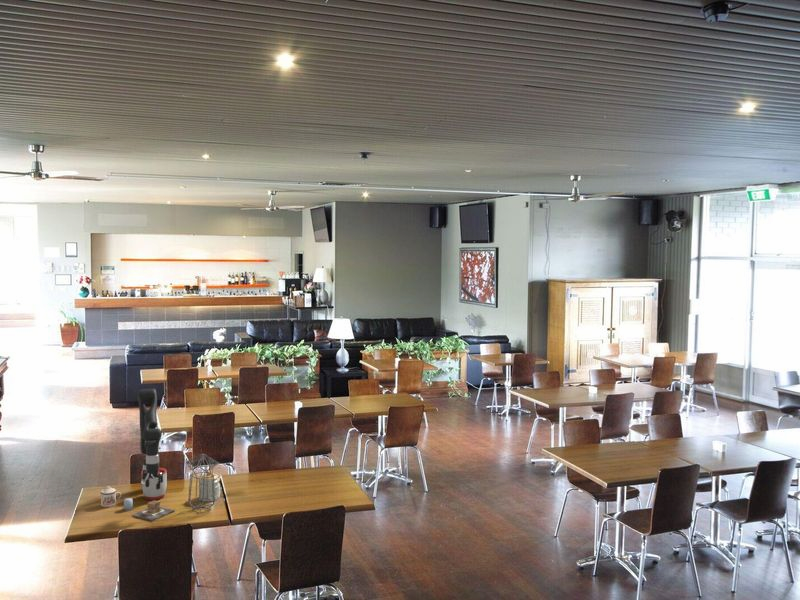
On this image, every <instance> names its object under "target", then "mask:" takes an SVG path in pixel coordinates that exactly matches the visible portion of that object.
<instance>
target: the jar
mask: <svg viewBox="0 0 800 600" xmlns="http://www.w3.org/2000/svg"><path fill="white" fill-rule="evenodd" d="M210 471H211V470H209V471H208V473H205V477H208V478H204V473H203V474H202V475H199V477H200V478H203V479H200V499H201V498H207V483H208V499H210V500H212V501H213V496H214V494H215V501H217V500H218V499H220V494H221V493H220V486H221V485H220V478H219V475H218V474H216V473H214V472H213V475H214V491H213V495H212V478H213V477H210V476H212V475H211V473H212V472H211V473H210ZM209 473H210V474H209ZM203 481H204V496H203ZM206 500H207V499H203V502H205V501H206ZM210 500H207V501H206V502H212V501H210ZM200 502H202V499H201V500H200Z"/></svg>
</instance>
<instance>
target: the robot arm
mask: <svg viewBox="0 0 800 600" xmlns="http://www.w3.org/2000/svg"><path fill="white" fill-rule="evenodd" d="M137 393H138V394H137V399H138V408H139V409H138V410H139V431H140V439H139V440H140V443H139V444H140V445H139V446H140V448H139V449H140V453H141V454H142V455H145V458H144V459H142V471H143V478H142V477H141V480H142V479H143V480H145V485H146V487H149V479H150V478H152V479H154V481H156V483H157V484H156V489H157V490H158V489H160V483H161V482H163V473H162V472H161V473H159V472H158V469H159V468H160V454H159V453H160V451H159V446H160V443H161V438H162V434H163V432H162V430H161V429H160V428H159V427H158V419H157V411H158V410H157V409H158V395H157V390H156V388H145V389H143V388H142V389H139V390H138V392H137ZM147 404H148V405H149V404H151V405H150V407H149V408H147V406H146V405H147ZM157 427H158V428H157ZM156 477H157V478H156ZM160 479H161V480H160ZM157 480H158V481H157Z"/></svg>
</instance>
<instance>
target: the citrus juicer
mask: <svg viewBox="0 0 800 600" xmlns="http://www.w3.org/2000/svg"><path fill="white" fill-rule="evenodd" d="M158 472H159V473H161V472H162V473H163V482H161V483H160V489H158V490H157V489H156V484H157V483H156V481H154V479H152V478H150V479H149V487H146V485H145V480H143V479H142V478H143V470H141V481H140V483H141V489H142V493H143V497H144V499H145V500H150V501H153V500H154V501H157V500H160V499H162V498H164V497H165V495H166V491H167V486H168V485H167V484H168V479H167V477H168V475H167V474H168V473H167V472H168V470H167V468H165V467H159V469H158ZM156 478H157V477H156ZM160 480H161V479H160ZM157 481H158V480H157Z"/></svg>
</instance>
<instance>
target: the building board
mask: <svg viewBox="0 0 800 600" xmlns="http://www.w3.org/2000/svg"><path fill="white" fill-rule="evenodd" d="M175 512H176V510H175V509H171V508H168V507H165V506H160V512H157V513H155V514H151V513H148V510H147V508H145V509H142V510H140V511H137V512H135V513H133V514H132V515H131V516H132V517H134V518H137V519H141V520H144V521H149V522H154V521H157V520H159V519H161V518H164V517H167V516H168V515H170V514H173V513H175Z"/></svg>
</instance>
